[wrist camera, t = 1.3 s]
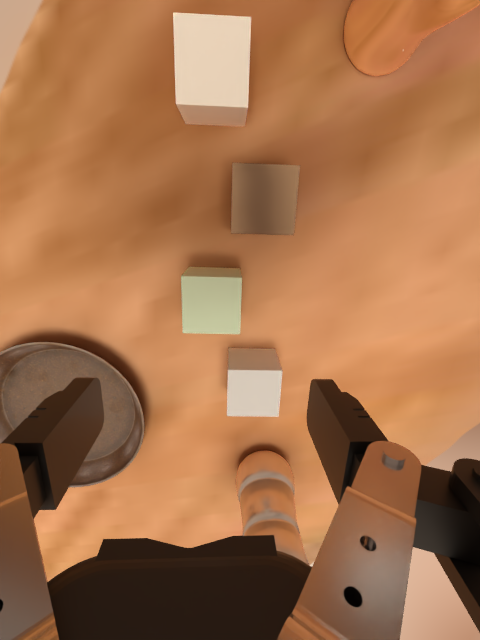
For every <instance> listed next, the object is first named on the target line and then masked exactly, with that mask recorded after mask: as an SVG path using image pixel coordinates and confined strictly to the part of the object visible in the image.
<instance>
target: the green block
mask: <svg viewBox="0 0 480 640" xmlns="http://www.w3.org/2000/svg"><path fill="white" fill-rule="evenodd" d="M181 292H182V325H183V333H201V334H240V323H241V294H242V275H241V269H240V268H219V267H188V268H187V269H186V271H185V272H184V273H183V274H182V276H181Z"/></svg>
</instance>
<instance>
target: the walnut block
mask: <svg viewBox="0 0 480 640" xmlns="http://www.w3.org/2000/svg"><path fill="white" fill-rule="evenodd" d="M299 173H300V165H278V164H253V163H233V164H232V203H231V233H236V234H267V235H294V231H295V219H296V208H297V196H298V184H299Z"/></svg>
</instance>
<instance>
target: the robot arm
mask: <svg viewBox="0 0 480 640" xmlns="http://www.w3.org/2000/svg"><path fill="white" fill-rule="evenodd" d="M103 423H104V408H103V400H102V392H101V384H100V380H99V378H91V377H77V378H74V379H73V380H72V382H71V383H70V384H69V385H68V386H67V387H66V388H65V389H64V390H63V391H58V392H56V393H54V394H53V395H51V396H49V397H47V398H46V399H44V400H43V401H42V402H41V403H40V404H39V405H38V406H37V407H36V410H33V411H32V412H31V413H30V414H29V415H28V418H26V419H25V420H24V421H23V422H22V423H21V424H20V425H19V426H18V427H17V428H16V429H15V430H14V431H13V432H12V433H11V434H10V435H9V436H8V437H7V438H6V439H5V440H4V441H3V442H2V443H1V444H0V640H400V633H401V626H402V619H403V612H404V605H405V598H406V591H407V584H408V577H409V570H410V563H411V556H412V548H413V547H416V548H419V549H423V550H426V551H430V552H433V553H434V554H435V555H436V557H437V559H438V561H439V562H440V564H441V566H442V568H443V569H444V571H445V573H446V575H447V576H448V578H449V580H450V581H451V583H452V585H453V587H454V588H455V590H456V592H457V594H458V595H459V597H460V599H461V601H462V602H463V604H464V606H465V607H466V609H467V611H468V613H469V615H470V616H471V618H472V620H473V622H474V623H475V625H476V627H477V628H478V630H479V632H480V461H478V460H474V459H459V460H457V461H456V462H455V463H454V465H453V468H452V471H451V472H450V471H445V470H440V469H436V468H432V467H427V466H424V465H421V463H420V461H419V459H418V458H417V457H416V456H415V455H414V454H413V453H412V452H411V451H410V450H408V449H406V448H405V447H403V446H401V445H399V444H396V443H393V442H389V441H388V440H387V438H386V437H385V436H384V434H383V433H382V432H381V430H380V429H379V428H378V426H377V425H376V424H375V422H374V421H373V420H372V418H370V416H369V414H368V413H367V412H366V411H364V408H363V406H362V405H361V404H360V402H359V401H358V400H357V399H356V398H354V397H353V396H351V395H350V394H348V393H347V392H341V391H340V389H339V388H338V387H337V385H336V384H335V382H334V381H333V380H332V379H313V380H312V381H311V384H310V392H309V401H308V409H307V426H308V430H309V433H310V435H311V438H312V440H313V443H314V445H315V448H316V450H317V453H318V455H319V458H320V460H321V462H322V465H323V467H324V470H325V472H326V475H327V477H328V480H329V482H330V485H331V487H332V490H333V492H334V495H335V497H336V499H337V502H338V504H339V506H338V508H337V511H336V513H335V515H334V518H333V520H332V522H331V525H330V527H329V529H328V532H327V534H326V536H325V539H324V541H323V543H322V546H321V548H320V550H319V553H318V555H317V557H316V560H315V562H314V564H313V567H311V566H309V565H308V564H306V563H305V562H303V561H302V560H300V559H298V558H296V557H294V556H292V555H289V554H287V553H284V552H281V551H277V550H276V544H275V538H274V535H253V536H232V537H228V538H225V539H221V540H218V541H214V542H211V543H207V544H204V545H201V546H197V547H194V548H184V547H180V546H176V545H172V544H168V543H164V542H160V541H156V540H152V539H148V538H136V539H103V542H102V545H101V547H100V550H99V553H98V555H97V556H95V557H92V558H89V559H87V560H84V561H82V562H80V563H78V564H76V565H74V566H72V567H70V568H68V569H66V570H65V571H63V572H62V573H60V574H58V575H57V576H55V577H54V578H53V579H51V580H50V581H49V582H47V577H46V573H45V568H44V564H43V559H42V555H41V550H40V546H39V541H38V537H37V532H36V528H35V524H34V517H35V516H36V514H37V513H38V511H39V510H56V508H57V507H58V505H59V503H60V501H61V500H62V498H63V496H64V494H65V493H66V491H67V489H68V487H69V486H70V484H71V482H72V481H73V479H74V477H75V475H76V474H77V472H78V470H79V468H80V467H81V465H82V463H83V461H84V460H85V458H86V456H87V455H88V453H89V451H90V449H91V448H92V446H93V444H94V442H95V441H96V439H97V437H98V435H99V434H100V432H101V430H102V427H103Z"/></svg>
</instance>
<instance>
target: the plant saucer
mask: <svg viewBox="0 0 480 640" xmlns="http://www.w3.org/2000/svg"><path fill="white" fill-rule="evenodd" d="M77 377H91V378H99V380H100V384H101V392H102V400H103V408H104V423H103V427H102V430H101V432H100V434H99V435H98V437H97V439H96V441H95V442H94V444H93V446H92V448H91V449H90V451H89V453H88V455H87V456H86V458H85V460H84V461H83V463H82V465H81V467H80V468H79V470H78V472H77V474H76V475H75V477H74V479H73V481H72V482H71V484H70V486H69V487H83V486H89V485H94V484H98V483H101V482H104V481H106V480H109V479H111V478H113V477H114V476H116V475H118V474H119V473H120V472H122V471H123V470H124V469H125V468H126V467H127V466H128V465H129V464H130V463H131V462H132V461H133V460H134V458H135V457H136V455H137V453H138V451H139V449H140V447H141V444H142V440H143V436H144V416H143V411H142V407H141V405H140V402H139V399H138V397H137V395H136V393H135V391H134V389H133V388H132V386H131V385H130V383H129V382H128V381H127V379H126V378H125V377H124V376H123V375H122V374H121V373H120V372H119V371H118V370H117V369H116V368H115V367H114V366H112V365H111V364H110V363H108V362H107V361H106V360H104V359H103V358H101V357H99V356H97V355H95V354H94V353H91V352H89V351H87V350H84V349H81V348H78V347H75V346H71V345H67V344H61V343H53V342H34V343H26V344H21V345H17V346H14V347H11V348H8V349H6V350H4V351H2V352H0V444H1V443H2V442H3V441H4V440H5V439H6V438H7V437H8V436H9V435H10V434H11V433H12V432H13V431H14V430H15V429H16V428H17V427H18V426H19V425H20V424H21V423H22V422H23V421H24V420H25V419H26V418H28V415H29V414H30V413H31V412H32V411H33V410H36V407H37V406H38V405H39V404H40V403H41V402H42V401H43V400H44V399H46V398H47V397H49V396H51V395H53V394H54V393H56V392H58V391H63V390H64V389H65V388H66V387H67V386H68V385H69V384H70V383H71V382H72V380H73V379H74V378H77Z"/></svg>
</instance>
